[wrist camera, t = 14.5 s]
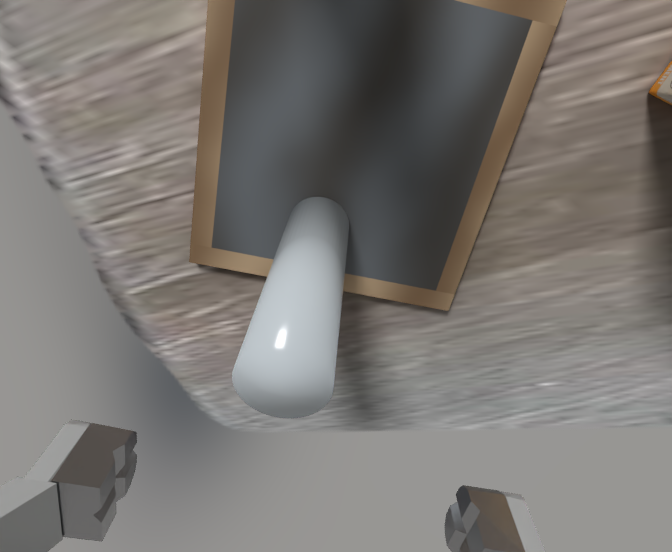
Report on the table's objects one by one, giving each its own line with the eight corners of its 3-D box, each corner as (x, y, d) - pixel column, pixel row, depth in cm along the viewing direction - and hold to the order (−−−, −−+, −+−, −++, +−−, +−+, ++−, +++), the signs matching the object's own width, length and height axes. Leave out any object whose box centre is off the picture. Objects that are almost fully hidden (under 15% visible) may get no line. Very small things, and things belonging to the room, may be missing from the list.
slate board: (560, -2, 21) (568, -4, 20) (445, 304, 28) (448, 311, 28) (219, -91, 19) (215, -97, 19) (193, 256, 27) (189, 262, 26)
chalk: (354, 202, 24) (341, 355, 14) (343, 256, 26) (325, 425, 16) (292, 191, 24) (233, 337, 14) (286, 246, 26) (230, 409, 16)
